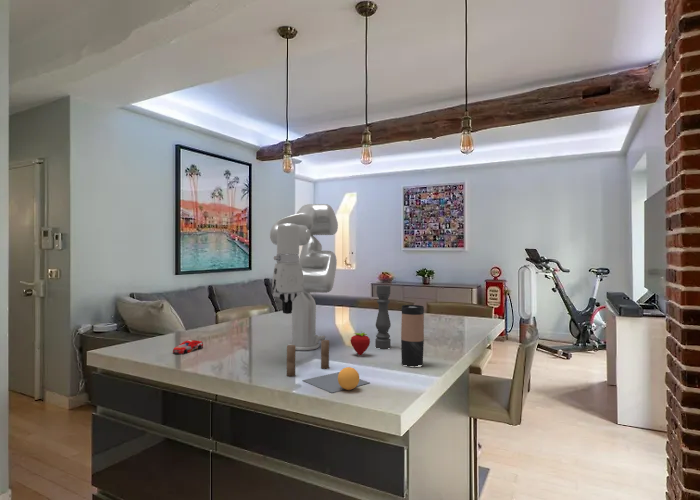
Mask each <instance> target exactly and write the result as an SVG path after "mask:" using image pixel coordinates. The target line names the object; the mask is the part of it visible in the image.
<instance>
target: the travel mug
mask: <svg viewBox="0 0 700 500" xmlns="http://www.w3.org/2000/svg"><path fill="white" fill-rule="evenodd" d="M424 308H425V307H424V306H423V305H420V304H418V305H417V304H407V305H406V304H404V305H401V322H400V323H401V328H400V331H401V333H400V334H401V335H400V336H401V337H400V338H401V339H400V347H401V348H400V350H401V365H402V364H403V365H407V366H418V365H422V364H423V365H424V345H425V343H424V342H425V339H424V338H425V337H424V336H425V334H424V333H425V329H424V328H425V325H424V324H425V323H424V322H425V321H424V320H425V319H424V318H425V316H424V315H425V312H424V311H425V309H424ZM403 365H402V366H403Z"/></svg>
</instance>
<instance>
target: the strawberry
mask: <svg viewBox="0 0 700 500" xmlns="http://www.w3.org/2000/svg"><path fill="white" fill-rule="evenodd" d="M370 343H371V339H370V337H369V336H368V334H367V333H365V332H361V333H360V332H354V333H353V335H352V336H351V337H350V345H351V347H352V348H353V350H354V351H355V352H356V353H357V355H358V356H360V355H361V356H362V355H364V353H365V352H366V351H367V349H368V348H369V346H370Z"/></svg>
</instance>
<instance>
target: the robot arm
mask: <svg viewBox="0 0 700 500" xmlns="http://www.w3.org/2000/svg"><path fill="white" fill-rule="evenodd" d="M338 229H339V222H338V218H337V216H336V213H335V210H334V209H333V208H332V206H331V205H329V204H328V203H318V204H317V203H307V204H304V205H302V206H301V207H300V208H299V210H298V211H296V213H295V214H291V215H287V216H286V217H283V218H280V219H278V220H276V221H275V223H273V224H272V226H271V229H270V232H269V239H270V242H271V243H272V244H273V245H275V246H276V256H274V255H273V256H274V257H273V259H274V261H276V263H275V264H274V268H273V273H272V285H271V286H272V291H273V293H272V296H273V297H274V298H275V297H276V298H279V299H280V301H281V302H282V306H281V307H282V313H283V314H286V315H288V314H289V315H290V314H291V342H290V343H288V344H287V346H288V345H295V346H296V348H295V351H311V350H313V351H314V350H317V349H318V348H320V343H318V342H321V340H326V336H325V335H320V336H319V335H317V334H316V331H317V330H316V328H317V327H316V326H317V325H316V324H317V322H316V319H317V316H316V315H317V314H316V313H317V305H316V300H315V298H314V297H313V296H312V293H315V294H316V293H317V294H319V293H326V294H327V293H329V292H331V291H332V290H333V288H334V283H335V279H336V271H337V260H338V259H337V256H336V253H335V252H333V251H331V250H323V245H322V244H321V242H320V240H319V239H317V237H315V236H334V235H335V234H337V232H338ZM300 246H301V251H300Z"/></svg>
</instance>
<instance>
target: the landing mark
mask: <svg viewBox="0 0 700 500" xmlns="http://www.w3.org/2000/svg"><path fill="white" fill-rule="evenodd" d="M339 372H340V371H339ZM339 372H333V373H329V374H325V375H319V376H315V377H311V378H306V379H303V380H302V382H303V383H307V384H309V385H312V386H314V387H316V388H318V389H320V390H323V391H326V392H328V393H331V394H334V393H338V392H342V391H346V389H344V388H342V387H341V386H340V385H339V383H338V374H339ZM369 384H371V382H370V381H367V380H364V379H360V378H359V383H358V385H357V386H356V387H355V388H357V387H360V386H365V385H369Z"/></svg>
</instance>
